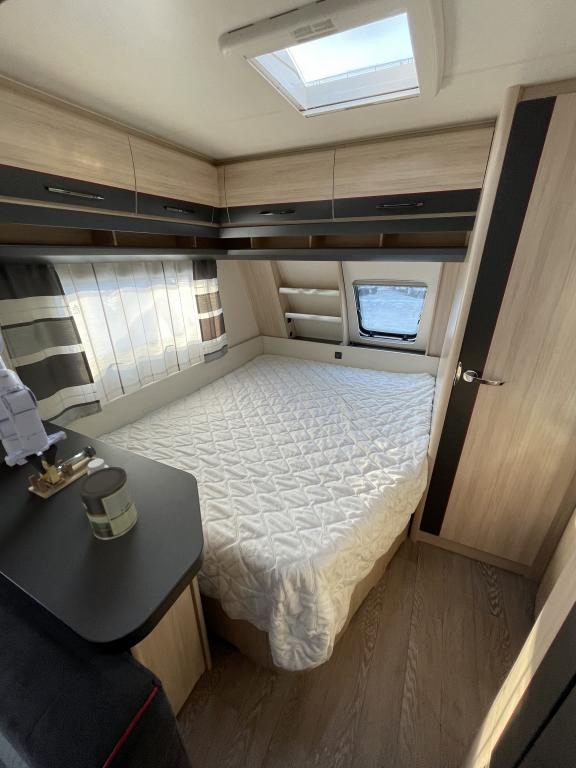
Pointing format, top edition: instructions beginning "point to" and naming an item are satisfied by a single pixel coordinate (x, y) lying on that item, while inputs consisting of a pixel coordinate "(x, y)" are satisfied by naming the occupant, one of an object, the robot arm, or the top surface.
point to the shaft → (78, 458)
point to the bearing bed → (65, 476)
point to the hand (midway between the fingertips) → (47, 470)
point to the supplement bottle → (96, 465)
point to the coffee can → (108, 502)
